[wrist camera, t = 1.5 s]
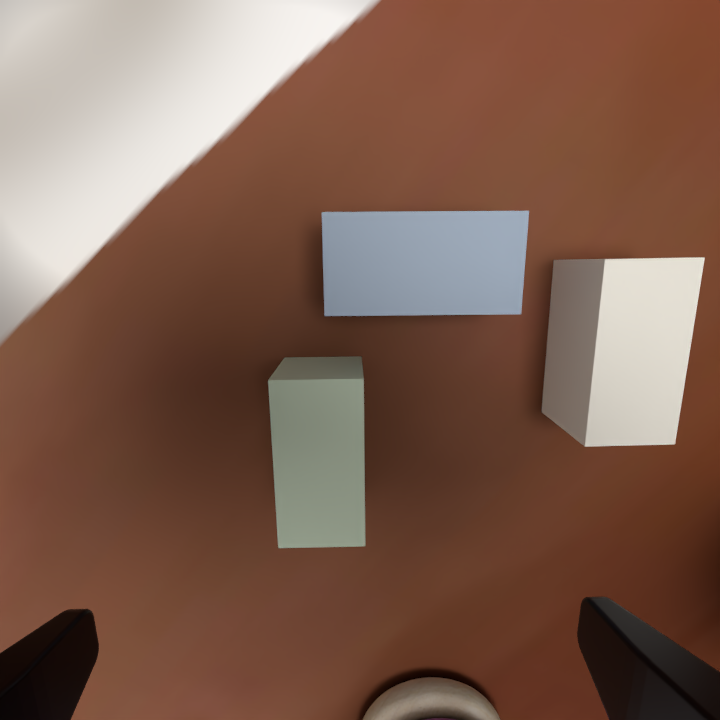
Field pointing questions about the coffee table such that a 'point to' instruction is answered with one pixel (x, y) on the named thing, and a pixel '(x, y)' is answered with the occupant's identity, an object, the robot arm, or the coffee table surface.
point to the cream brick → (620, 348)
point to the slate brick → (423, 262)
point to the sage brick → (318, 451)
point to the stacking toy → (431, 702)
